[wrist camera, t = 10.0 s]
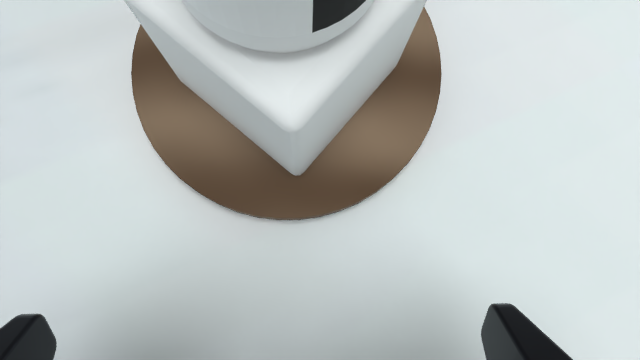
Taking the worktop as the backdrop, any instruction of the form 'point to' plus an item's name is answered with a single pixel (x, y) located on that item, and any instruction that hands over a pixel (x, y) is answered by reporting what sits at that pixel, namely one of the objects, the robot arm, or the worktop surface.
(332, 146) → the walnut coaster
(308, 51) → the medicine bottle
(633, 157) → the worktop surface
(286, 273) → the worktop surface
